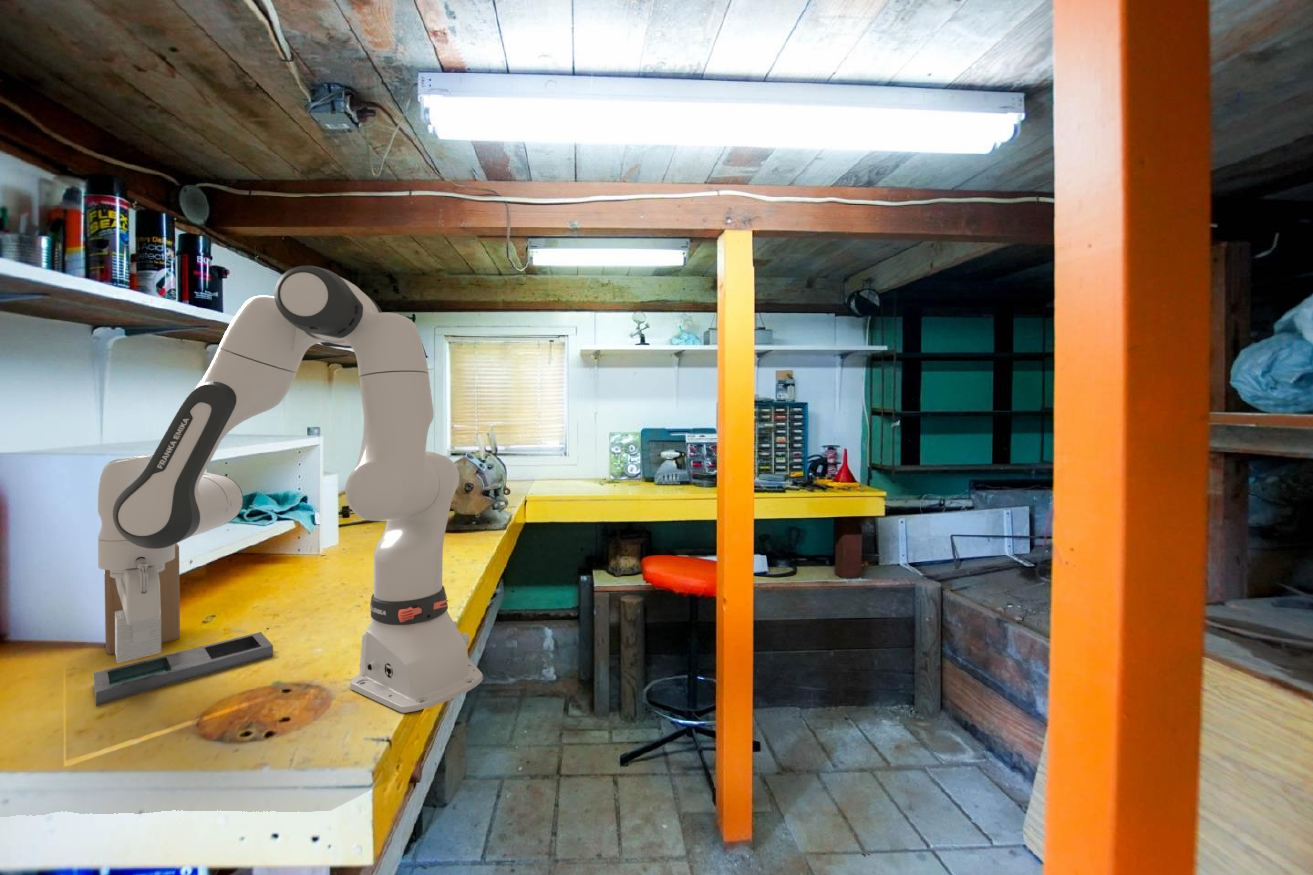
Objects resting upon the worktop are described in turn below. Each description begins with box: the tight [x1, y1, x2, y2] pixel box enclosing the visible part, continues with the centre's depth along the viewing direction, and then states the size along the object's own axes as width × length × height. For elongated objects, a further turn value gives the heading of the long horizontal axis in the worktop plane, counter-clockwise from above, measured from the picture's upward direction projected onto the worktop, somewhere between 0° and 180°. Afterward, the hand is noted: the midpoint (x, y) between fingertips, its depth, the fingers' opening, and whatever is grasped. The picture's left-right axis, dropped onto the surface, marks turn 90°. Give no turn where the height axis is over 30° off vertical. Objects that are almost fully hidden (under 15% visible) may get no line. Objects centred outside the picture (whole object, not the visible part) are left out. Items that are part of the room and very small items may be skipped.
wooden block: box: [104, 543, 181, 655], centre depth 99 cm, size 10×10×20 cm
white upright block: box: [114, 610, 162, 664], centre depth 83 cm, size 5×5×7 cm
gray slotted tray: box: [93, 631, 274, 706], centre depth 88 cm, size 9×22×3 cm, turn 140°
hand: (138, 635), depth 83 cm, fingers closed on white upright block, 5 cm apart
